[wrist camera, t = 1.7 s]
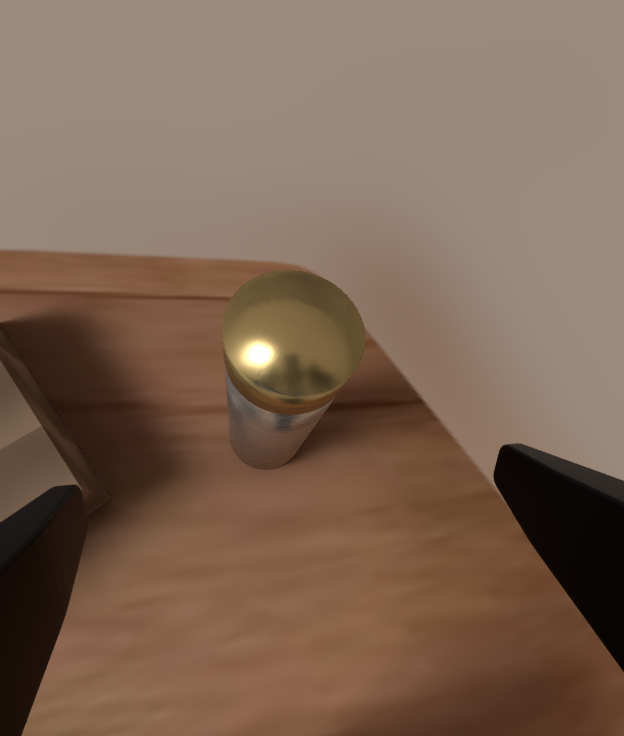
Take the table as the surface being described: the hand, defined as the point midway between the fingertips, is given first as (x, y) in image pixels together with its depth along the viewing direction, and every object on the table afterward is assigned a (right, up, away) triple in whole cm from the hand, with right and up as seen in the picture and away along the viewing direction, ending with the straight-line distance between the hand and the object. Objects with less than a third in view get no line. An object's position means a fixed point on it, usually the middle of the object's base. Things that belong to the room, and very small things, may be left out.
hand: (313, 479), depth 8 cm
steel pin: (-3, -1, +13) cm, 14 cm away
